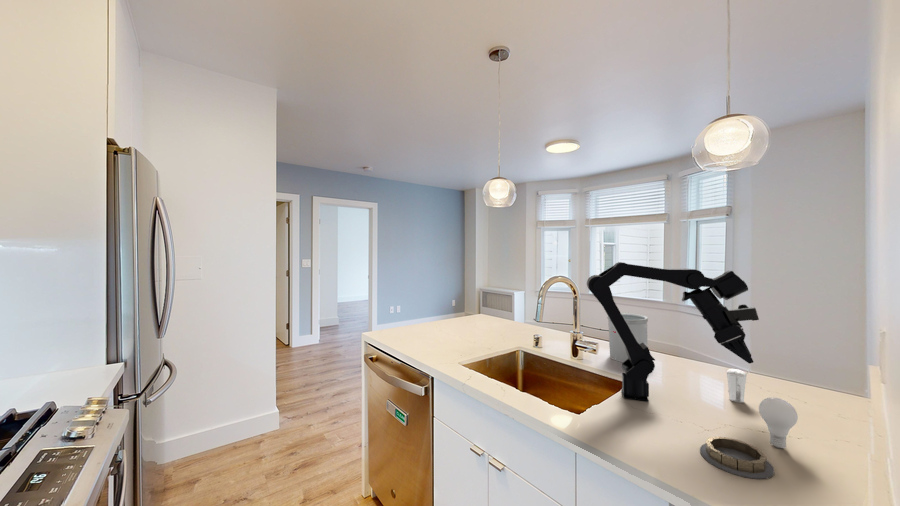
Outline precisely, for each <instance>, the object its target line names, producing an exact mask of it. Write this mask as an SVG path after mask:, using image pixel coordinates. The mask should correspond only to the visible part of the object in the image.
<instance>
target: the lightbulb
mask: <svg viewBox="0 0 900 506" xmlns="http://www.w3.org/2000/svg"><path fill="white" fill-rule="evenodd" d="M758 413H759V415H760V416H761V418H762V420H763V421H764V423H765V424H766V426H767V427H766V428H767V429H768V430H767V431H768V432H769V443H770V444H771V445H772V446H773V447H775V448H777V449H785V448H787V436H788V435H789V432H790V430H791V429H792V428H793V427H794V426H796V424H797V422H798V420H799V416H798V415H799V414H798V412H797V410H796V408H795V407H794V406H793V404H791V403H790V402H788V401H787V400H785V399H782V398H779V397H775V396H774V397H772V396H771V397H767V398H764V399H762V400H761V401H760V403H759V404H758Z"/></svg>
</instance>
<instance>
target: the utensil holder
mask: <svg viewBox="0 0 900 506" xmlns="http://www.w3.org/2000/svg"><path fill="white" fill-rule="evenodd" d="M620 313H621V314H622V316H623V318H624V320H625V321H626V323H627V325H628V327H629V328H630V330H631V332H632V334H633V335H634V337H635V339H636V341H637V342H638V343H639V344H641V343H642V342H643V343H644V344H645V345H646V346H647V347H648V322H649V317H648V316H646V315H644V314H643V315H642V314H636V313H629V312H628V313H624V312H620ZM607 320H608V321H607V322H608V343H609V346H608V347H609V357H610V359H612V360H614V361H616V362H619V363H623V362H624V361H626V360H627V359H628V356H627V353H626V350H625V346H624V343H623V342H622V340H621V338H620V336H619V334H618V333H617V331H616V329H615V327H614V326H613V324H612V322H611V320H610V319H609V317H608V316H607ZM611 331H616V333H614V332H611Z"/></svg>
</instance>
